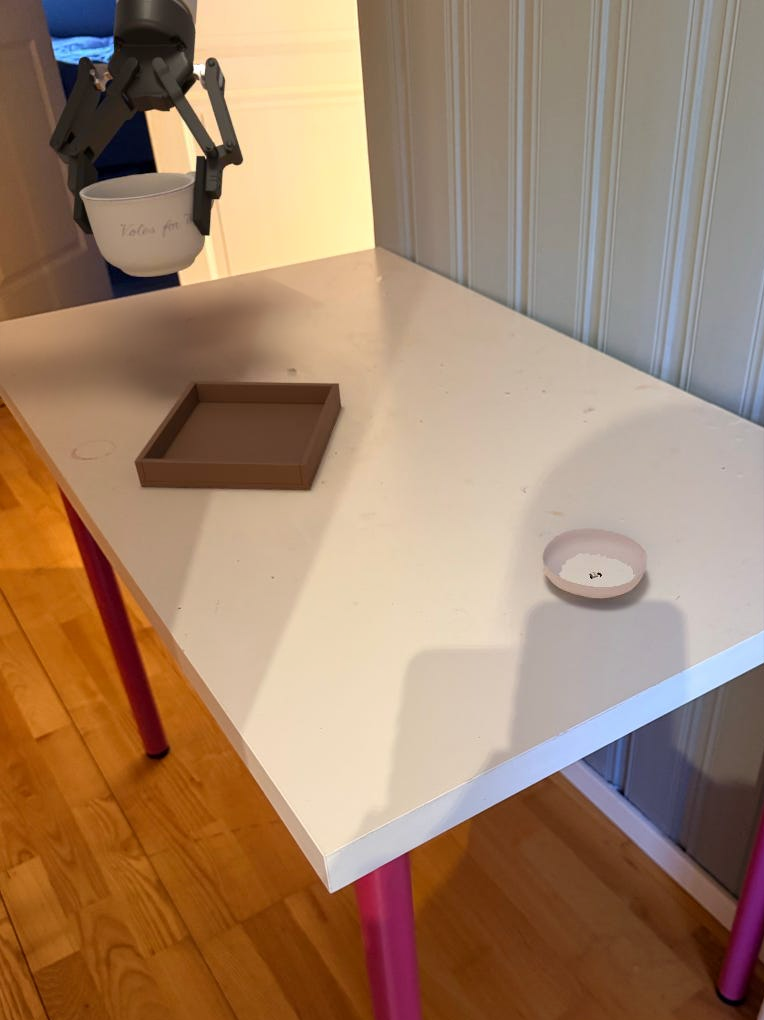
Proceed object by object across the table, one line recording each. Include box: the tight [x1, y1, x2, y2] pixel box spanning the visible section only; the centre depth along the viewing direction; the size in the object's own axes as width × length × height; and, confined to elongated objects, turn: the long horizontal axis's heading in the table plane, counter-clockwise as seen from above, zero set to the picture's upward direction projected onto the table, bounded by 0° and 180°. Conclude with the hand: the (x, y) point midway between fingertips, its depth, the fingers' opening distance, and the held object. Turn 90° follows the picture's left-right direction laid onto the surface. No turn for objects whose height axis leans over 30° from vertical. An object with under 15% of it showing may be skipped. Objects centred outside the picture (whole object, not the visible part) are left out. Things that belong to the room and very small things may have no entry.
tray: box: [134, 380, 342, 491], centre depth 87 cm, size 15×17×2 cm
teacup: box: [79, 170, 215, 278], centre depth 90 cm, size 14×11×8 cm
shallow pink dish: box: [542, 528, 648, 599], centre depth 70 cm, size 8×8×2 cm
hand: (142, 227), depth 88 cm, fingers closed on teacup, 11 cm apart
